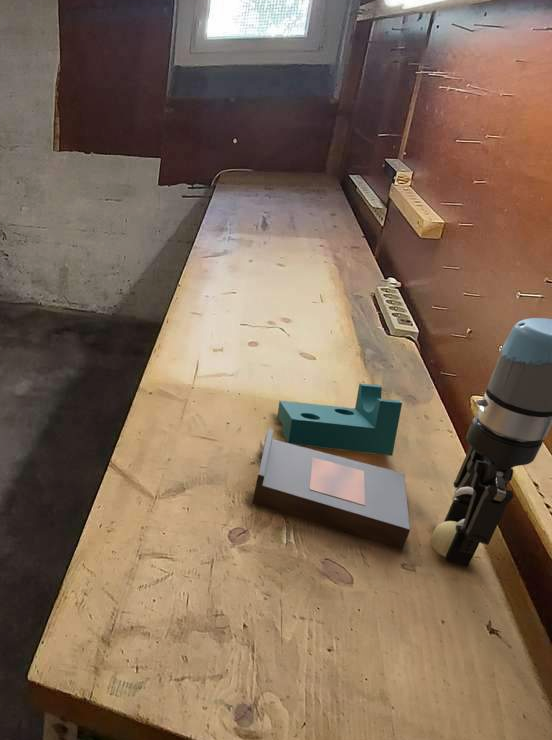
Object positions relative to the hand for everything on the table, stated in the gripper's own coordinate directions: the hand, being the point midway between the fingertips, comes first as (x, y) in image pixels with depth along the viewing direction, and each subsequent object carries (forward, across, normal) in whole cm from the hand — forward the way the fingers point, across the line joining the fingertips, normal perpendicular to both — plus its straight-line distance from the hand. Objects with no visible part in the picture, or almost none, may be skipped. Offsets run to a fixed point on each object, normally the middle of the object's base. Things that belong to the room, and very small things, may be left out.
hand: (453, 547), depth 87 cm
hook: (0, 0, 0) cm, 1 cm away
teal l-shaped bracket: (+1, -23, -18) cm, 29 cm away
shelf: (0, -3, -18) cm, 18 cm away
